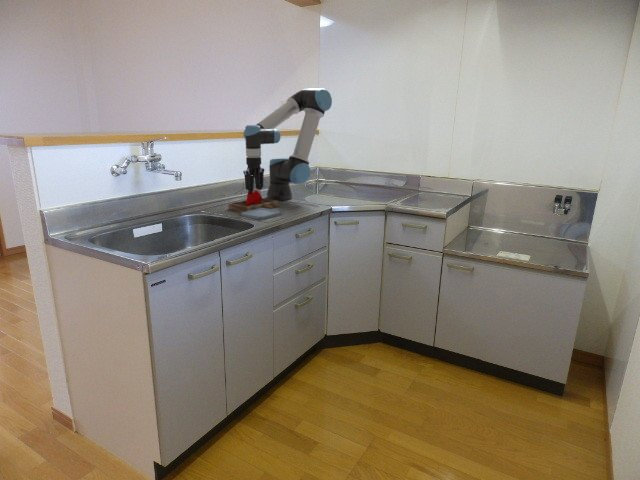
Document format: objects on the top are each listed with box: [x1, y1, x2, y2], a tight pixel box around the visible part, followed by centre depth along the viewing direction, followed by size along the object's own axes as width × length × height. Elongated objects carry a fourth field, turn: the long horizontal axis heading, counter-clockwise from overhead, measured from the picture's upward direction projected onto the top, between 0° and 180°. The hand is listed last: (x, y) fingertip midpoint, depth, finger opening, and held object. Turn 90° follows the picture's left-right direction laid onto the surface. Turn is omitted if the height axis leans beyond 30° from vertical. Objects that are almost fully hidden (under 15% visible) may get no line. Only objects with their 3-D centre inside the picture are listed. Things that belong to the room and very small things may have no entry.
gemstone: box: [246, 189, 263, 207], centre depth 216 cm, size 9×9×10 cm
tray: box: [239, 208, 282, 221], centre depth 204 cm, size 15×13×2 cm
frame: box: [228, 197, 280, 213], centre depth 219 cm, size 23×14×3 cm, turn 145°
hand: (255, 202), depth 219 cm, fingers closed on gemstone, 3 cm apart
